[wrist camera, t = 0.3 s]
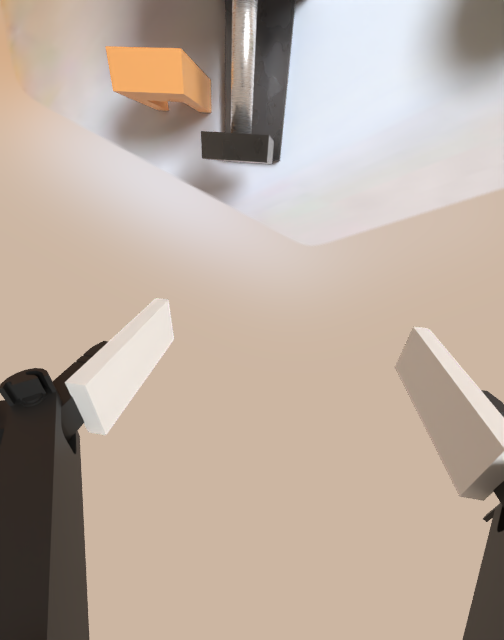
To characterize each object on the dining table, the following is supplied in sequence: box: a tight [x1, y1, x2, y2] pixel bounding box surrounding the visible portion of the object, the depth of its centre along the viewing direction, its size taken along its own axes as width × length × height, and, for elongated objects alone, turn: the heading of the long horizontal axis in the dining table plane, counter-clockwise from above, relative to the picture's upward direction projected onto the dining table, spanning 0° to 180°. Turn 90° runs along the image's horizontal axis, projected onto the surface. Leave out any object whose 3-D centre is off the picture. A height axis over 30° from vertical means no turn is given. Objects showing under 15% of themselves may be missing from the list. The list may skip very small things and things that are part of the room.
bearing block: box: [225, 0, 296, 161], centre depth 22 cm, size 20×10×14 cm, turn 177°
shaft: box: [201, 0, 274, 164], centre depth 21 cm, size 15×6×6 cm, turn 177°
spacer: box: [106, 46, 211, 113], centre depth 27 cm, size 3×7×9 cm, turn 87°
